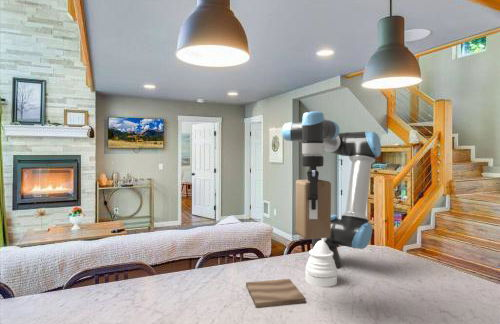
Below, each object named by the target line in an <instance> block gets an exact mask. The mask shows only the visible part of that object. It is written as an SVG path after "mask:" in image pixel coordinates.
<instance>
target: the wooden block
mask: <svg viewBox="0 0 500 324" xmlns="http://www.w3.org/2000/svg"><path fill="white" fill-rule="evenodd" d="M317 188H318V199H317V200H318V208H317V219H309V200H308V197H310V181H308V179H296V180H295V233H296V234H297V235H299V236H301V237H302V238H303V239H304V240H312V239H318V238H329V237H330V236H331V215H332V184H331V181H328V180H323V179H319V178H318V182H317Z"/></svg>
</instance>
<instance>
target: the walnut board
mask: <svg viewBox="0 0 500 324" xmlns="http://www.w3.org/2000/svg"><path fill="white" fill-rule="evenodd" d="M245 287H246V290H247V292H248V294H249V296H250V298H251V300H252V302H253V304H254V306H255V308H263V307H274V306H284V305H285V306H286V305H294V304H304V303H306V301H307V299H306V297H305V296H304V294H302V292H301V291H300V290H299V289H298V287H297V286H296V285H295V284H294V282H293V281H292V280H291V279H290V278H284V279H274V280H273V279H271V280H261V281H259V280H258V281H249V282H245Z"/></svg>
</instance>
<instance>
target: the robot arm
mask: <svg viewBox="0 0 500 324" xmlns="http://www.w3.org/2000/svg"><path fill="white" fill-rule="evenodd" d="M281 129H282V130H281V135H282V138H283V139H284V140H285V141H289V142H295V141H296V142H299V143H301V154H302V157H301V158H302V159H301V162H302V164H301V165H302V167H309V168H308V171H306V177H307V180H308V181H310V197H308V200H309V219H317V208H318V200H317V199H318V188H317V182H318V179H319V173H320V172H319V171H318V170H317V168H318V167H324V165H325V162H324V161H325V159H324V156H323V155H324V151H326V152H327V153H330V154H335V155H337V156H342V157H349V158H348V159H349V160H350V161H351V168H350V175H349V181H348V182H349V183H348V191H347V198H346V199H347V200H346V208H345V212H344V213H343V214H341V219H339V217H338V215H337V214H331V236H330V237H329V238H327V239H326V241H324V242H325V243H326V244H327V245H328V247H329V249H330V251H332V252H333V253H334V254H333V256H332V257H333V259H334V261H335V265H336V268H337V269H338V268H340V267H341V266H342V259H341V256H340V254H339V249H338V246H342V247H347V248H352V249H360V250H363V249H365V248H367V247H368V245H369V244H370V242H371V239H372V234H373V226H372V224H371V223H370V222H369V218H368V217H367V216H366V213H367V203H368V196H369V188H370V187H369V186H370V178H371V168H372V164H373V163H375V162H376V157H378V158H379V157H380V156H381V153H382V145H381V143H382V142H381V139H380V136H379V135H378V133H376V132H375V131H353V132H351V131H350V132H340V126H339V124H338V123H337V122H336V121H333V120H331V119H325V117H324V113H323V112H322V111H307V112H304V113H303V115H302V121H291V122H286V123H284V124H283V126H282V128H281ZM320 240H322V239H321V238H318V239H311V243H312V244H311V249H313V247H314V246H315V244H316V243H317V242H318V241H320ZM309 257H310V254H309V255H308V259H309ZM308 259H307V260H308Z"/></svg>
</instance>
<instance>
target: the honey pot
mask: <svg viewBox="0 0 500 324" xmlns="http://www.w3.org/2000/svg"><path fill="white" fill-rule="evenodd" d="M321 239H322V240H320V241H318V242H317V243H316V244H315V246H314V247H313V249H312V248H311V249H310V250H309V251H308V254H309V255H310V257H309V256H308V258H309V259H307V262H306V265H305V273H304V274H305V276H304V277H305V281H306V283H308V284H309V285H311V286H314V287H321V288H322V287H323V288H328V287H333V286H335V285H337V284H338V268H336V265H335V261H334V259H333V257H332V256H333V254H334V253H333V252H332V251H330V249H329V247H328V245H327V244H326V243H325V242H324V241H326V239H327V238H321Z"/></svg>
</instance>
